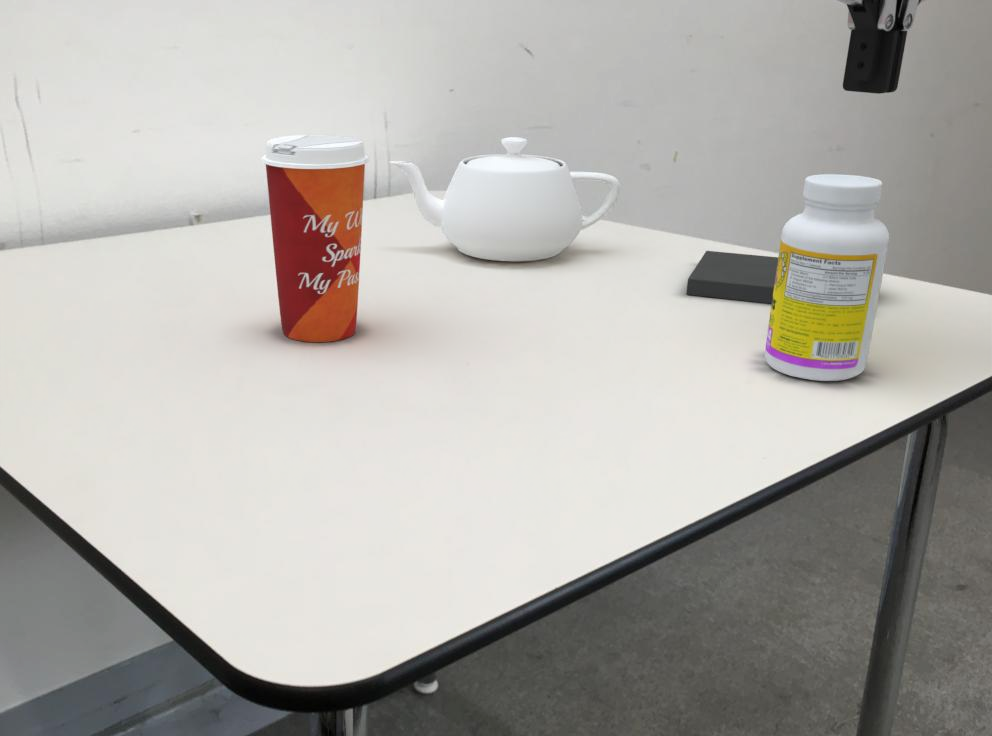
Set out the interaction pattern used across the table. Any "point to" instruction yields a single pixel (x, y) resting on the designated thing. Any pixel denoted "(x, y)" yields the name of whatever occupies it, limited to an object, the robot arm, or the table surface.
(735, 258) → the scale
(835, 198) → the supplement bottle
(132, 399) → the table surface
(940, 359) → the table surface
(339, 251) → the paper cup
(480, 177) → the teapot
